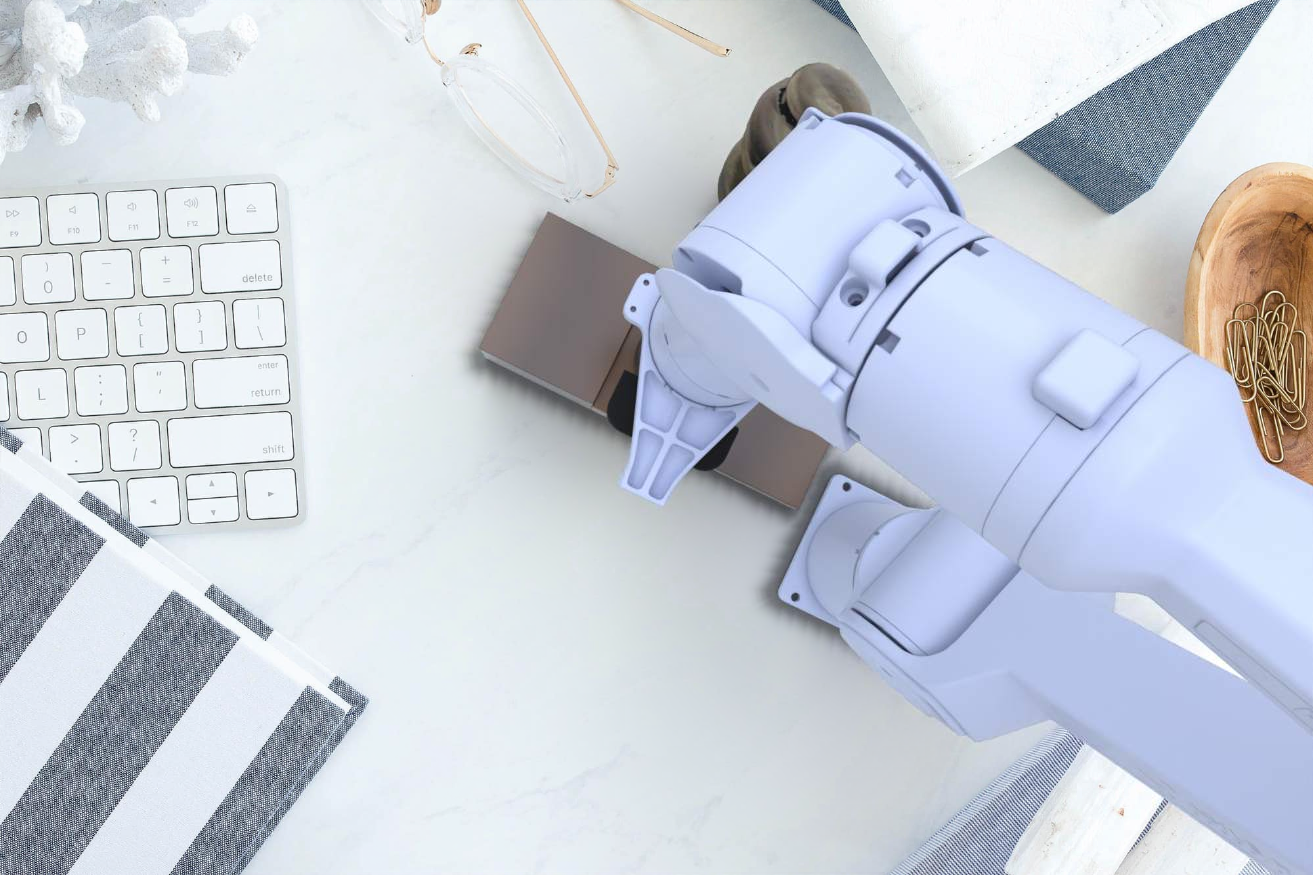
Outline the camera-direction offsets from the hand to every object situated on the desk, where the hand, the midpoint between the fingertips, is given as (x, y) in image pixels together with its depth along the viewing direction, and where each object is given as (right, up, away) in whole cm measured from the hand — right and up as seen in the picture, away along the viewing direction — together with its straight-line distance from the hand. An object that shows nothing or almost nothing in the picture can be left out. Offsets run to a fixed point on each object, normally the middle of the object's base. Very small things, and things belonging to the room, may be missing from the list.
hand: (686, 360), depth 46 cm
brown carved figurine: (+4, +9, +7) cm, 12 cm away
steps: (-1, 0, +6) cm, 6 cm away
